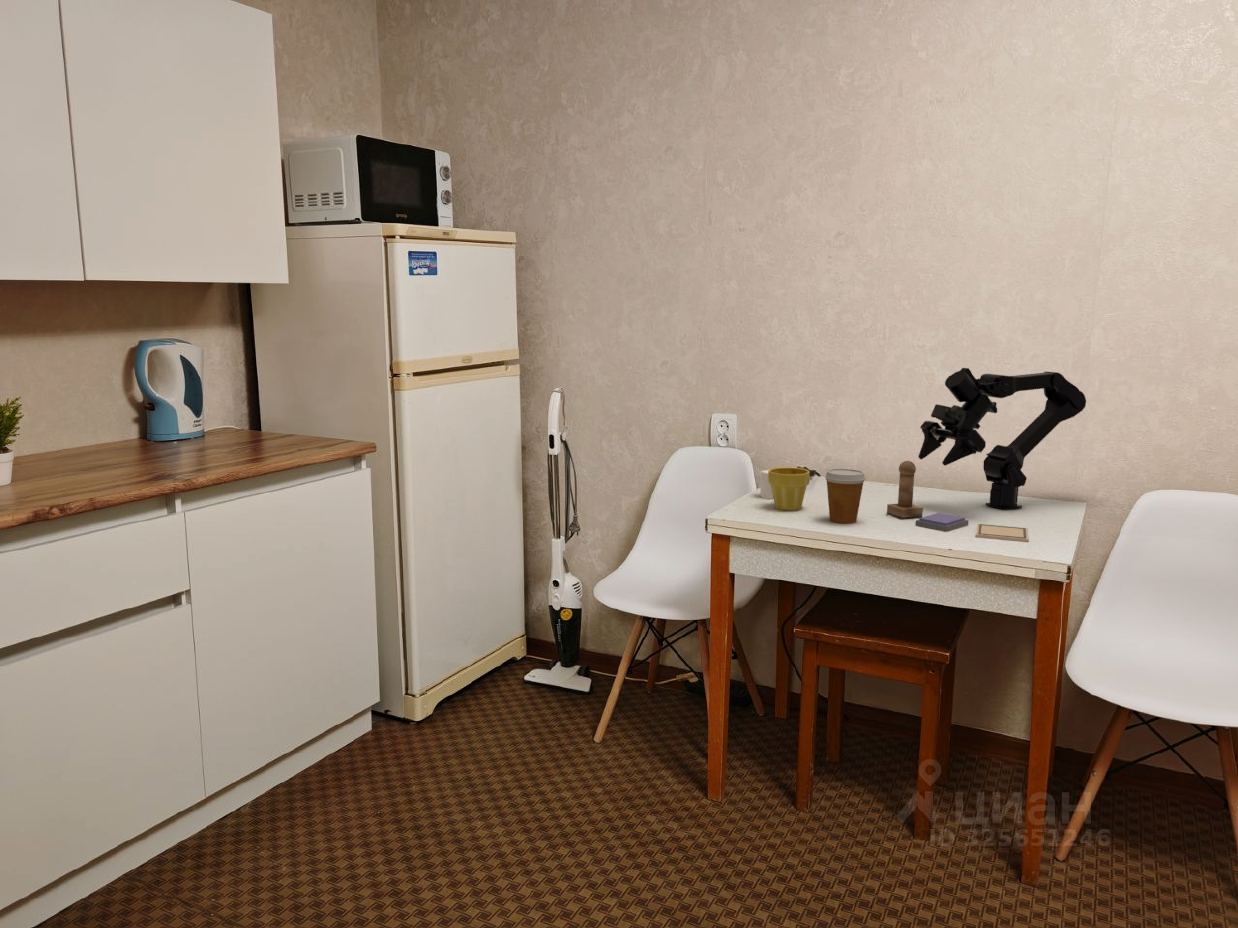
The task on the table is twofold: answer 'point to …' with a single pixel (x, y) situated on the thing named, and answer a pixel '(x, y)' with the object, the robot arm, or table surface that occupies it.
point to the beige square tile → (1002, 532)
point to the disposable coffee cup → (844, 494)
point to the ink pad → (942, 522)
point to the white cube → (765, 485)
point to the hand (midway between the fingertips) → (931, 461)
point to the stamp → (905, 495)
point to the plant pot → (788, 486)
